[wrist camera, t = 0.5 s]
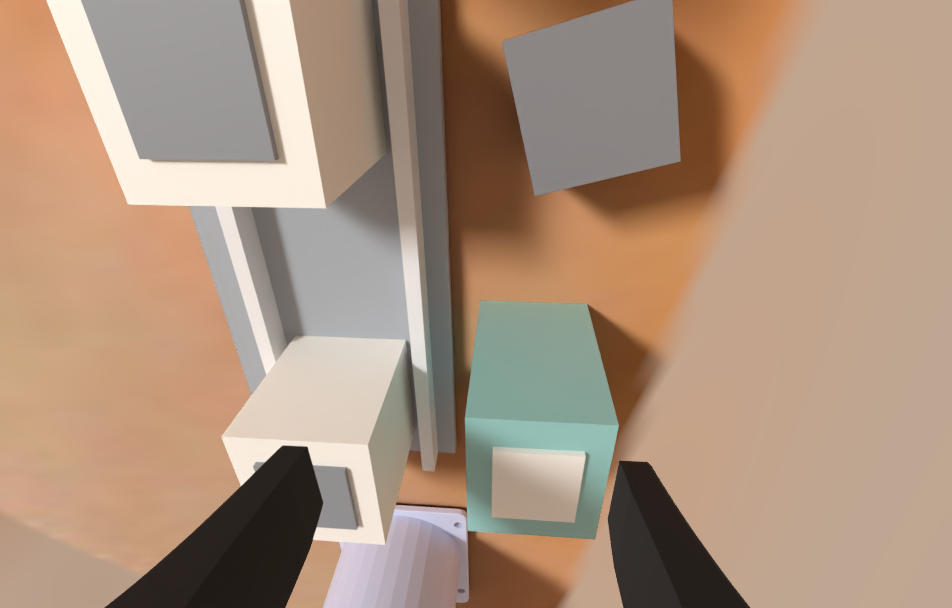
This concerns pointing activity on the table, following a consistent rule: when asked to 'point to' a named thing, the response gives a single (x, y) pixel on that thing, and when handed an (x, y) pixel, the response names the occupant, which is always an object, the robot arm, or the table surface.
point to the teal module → (537, 422)
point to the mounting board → (299, 215)
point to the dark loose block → (597, 95)
